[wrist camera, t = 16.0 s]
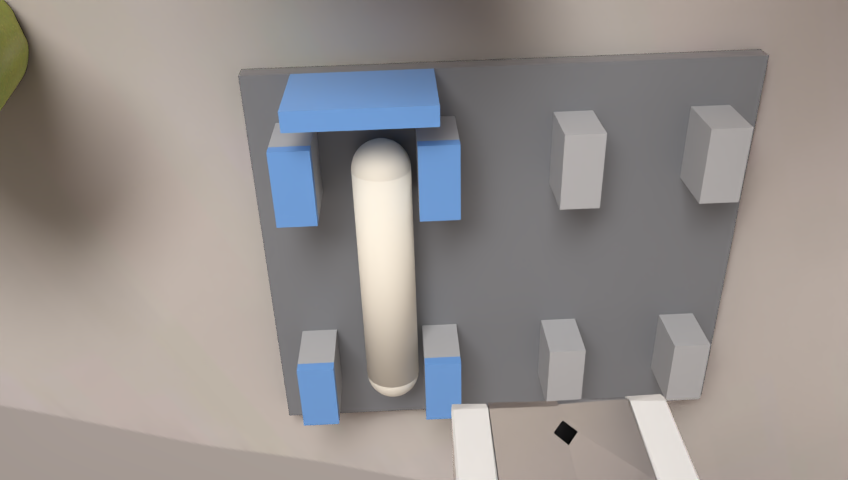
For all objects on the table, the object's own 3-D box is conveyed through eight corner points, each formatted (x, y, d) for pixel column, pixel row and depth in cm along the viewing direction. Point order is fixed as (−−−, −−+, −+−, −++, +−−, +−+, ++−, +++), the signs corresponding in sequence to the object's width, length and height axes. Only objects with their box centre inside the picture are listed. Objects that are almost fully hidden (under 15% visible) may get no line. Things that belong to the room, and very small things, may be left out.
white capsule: (339, 136, 39) (363, 157, 37) (394, 124, 41) (420, 145, 38) (361, 383, 48) (381, 414, 45) (406, 367, 49) (428, 397, 46)
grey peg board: (760, 49, 40) (816, 90, 35) (695, 385, 51) (730, 454, 46) (241, 69, 39) (219, 114, 34) (291, 404, 50) (280, 476, 45)
